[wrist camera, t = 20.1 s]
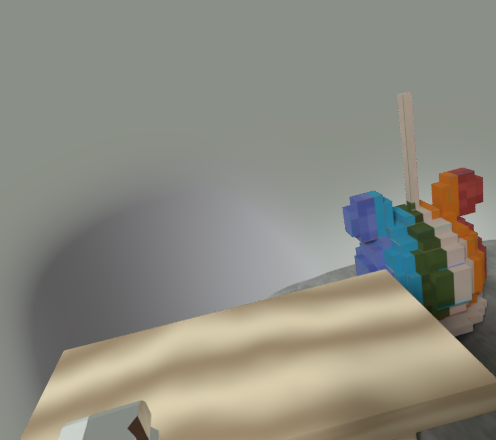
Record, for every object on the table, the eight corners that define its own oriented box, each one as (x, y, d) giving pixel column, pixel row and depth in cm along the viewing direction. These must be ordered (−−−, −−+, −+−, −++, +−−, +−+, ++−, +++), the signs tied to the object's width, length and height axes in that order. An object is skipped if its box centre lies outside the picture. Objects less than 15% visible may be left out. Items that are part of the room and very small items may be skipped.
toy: (445, 271, 65) (435, 78, 55) (522, 323, 51) (527, 74, 41) (341, 300, 64) (311, 107, 54) (389, 363, 49) (360, 115, 39)
